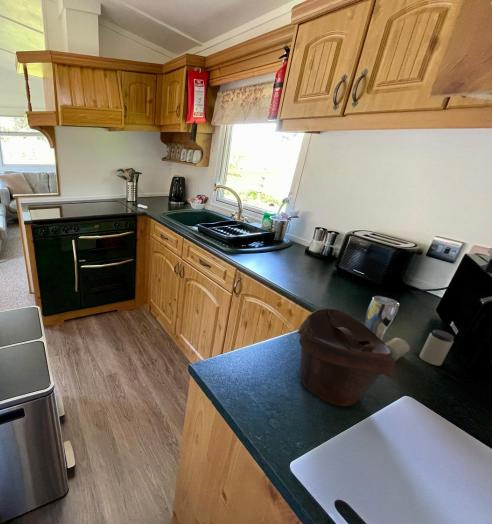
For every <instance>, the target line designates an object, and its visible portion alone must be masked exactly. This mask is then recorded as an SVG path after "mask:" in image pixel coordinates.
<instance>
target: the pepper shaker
mask: <svg viewBox="0 0 492 524" xmlns="http://www.w3.org/2000/svg"><path fill="white" fill-rule="evenodd" d="M454 339H455V336H454V335H452V334H451V333H449V332H447V331H444V330H440V329H433V330H432V331H431V332H430V333H429V335H428V337H427V339H426V341H425V343H424V345H423V347H422V349H421V351H420V353H419V356H418V357H419V358H420V359H421V360H422V361H424V362H426V363H428V364H430V365H434V366H438V367H439V366H442V365H443V363H444V361H445V360H446V357H447V356H448V353H449V352H450V350H451V348H452V346H453V344H454V342H455V341H454Z"/></svg>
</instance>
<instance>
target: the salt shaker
mask: <svg viewBox="0 0 492 524" xmlns="http://www.w3.org/2000/svg"><path fill="white" fill-rule="evenodd" d="M384 343H385V344H386V346H387V347H388V348H389V349H390V350H391V352H392V358H394V360H395V362H396V361H397V360H399V359H401V358H402V357H404V356H405V355H406V354H408V353H409V352H410V345H409V344H408V342H407V341H406V340H404V339H402V338H401V337H400V338H399V337H392V338H391V339H389V340H387V341H386V342H384Z"/></svg>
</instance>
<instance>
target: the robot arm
mask: <svg viewBox="0 0 492 524" xmlns="http://www.w3.org/2000/svg"><path fill="white" fill-rule="evenodd" d="M483 272H484V273H488V274H492V254H491V255H490V258H489V260H488V262H487V264H486V266H485V268H484V269H483Z"/></svg>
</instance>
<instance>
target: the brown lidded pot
mask: <svg viewBox="0 0 492 524" xmlns="http://www.w3.org/2000/svg"><path fill="white" fill-rule="evenodd" d="M297 334H298V335H299V339H298V343H299V345H300V347H301V350H300V351H301V355H300V375H299V377H300V380H301V383H302V385H303V386H304V388H306V389H307V390H308V391H309V392H311V393H312V394H313V395H314V396H317V397H318V398H320V399H321V400H323V401H325V402H327V403H330V404H332V405H336V406H340V407H349V406H353V405H354V404H356V403H357V402H358V401H359V400H360V398H361V397H362V396H363V395H364V394H365V393H366V392H367V391H368V390H369V388H370V387H371V386H372V385H373V384H374V383H375V382H376V381H377V379H378V378H379V377H380V376H381V375H382V376H385V377H389V378H391V379H392V380H394V371H395V366H396V361H395V360H394V358H392V352H391V350H390V349H389V348H388V347H387V346H386V344H385V342H384V340H383V341H382V340H380V339H379V338H378V337H377V336H376V335H375V334H374V333H373V332H372V331H371V330H370V329H369V328H367V327H366V326H365V323H362V322H361V321H360V320H358V319H357V318H355V317H353V316H351V315H350V314H348V313H346V312H344V311H341V310H339V309H335V308H329V307H325V308H320V309H319V308H318V309H316V310H315V311H313V312H311V313H310V314H308V315H307V317H306V318H305V319H304V320H303V322H302V323H301V324H300V326H299V328H298V330H297Z"/></svg>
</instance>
